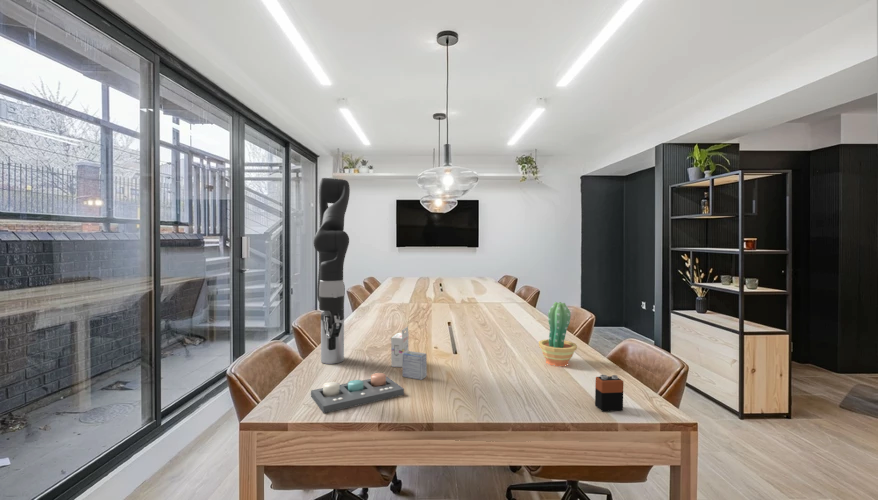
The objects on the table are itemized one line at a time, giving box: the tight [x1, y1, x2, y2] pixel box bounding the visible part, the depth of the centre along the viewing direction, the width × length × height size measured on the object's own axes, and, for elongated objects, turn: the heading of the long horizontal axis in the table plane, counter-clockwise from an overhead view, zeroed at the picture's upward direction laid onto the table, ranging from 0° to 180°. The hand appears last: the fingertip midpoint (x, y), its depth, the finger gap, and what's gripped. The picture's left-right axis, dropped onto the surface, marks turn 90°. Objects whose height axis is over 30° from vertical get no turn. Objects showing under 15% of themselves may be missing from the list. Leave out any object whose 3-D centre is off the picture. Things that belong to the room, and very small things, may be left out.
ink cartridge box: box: [390, 326, 409, 368], centre depth 158 cm, size 9×5×15 cm, turn 168°
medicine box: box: [402, 350, 428, 381], centre depth 144 cm, size 8×4×9 cm, turn 65°
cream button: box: [322, 381, 341, 398], centre depth 123 cm, size 5×5×3 cm
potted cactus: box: [538, 301, 578, 367], centre depth 161 cm, size 15×15×25 cm
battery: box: [594, 374, 624, 412], centre depth 118 cm, size 4×7×10 cm, turn 96°
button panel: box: [310, 375, 405, 414], centre depth 126 cm, size 14×26×2 cm, turn 122°
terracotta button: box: [370, 372, 387, 387], centre depth 132 cm, size 5×5×3 cm
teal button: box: [347, 379, 364, 392], centre depth 127 cm, size 5×5×3 cm
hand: (331, 349), depth 123 cm, fingers closed
